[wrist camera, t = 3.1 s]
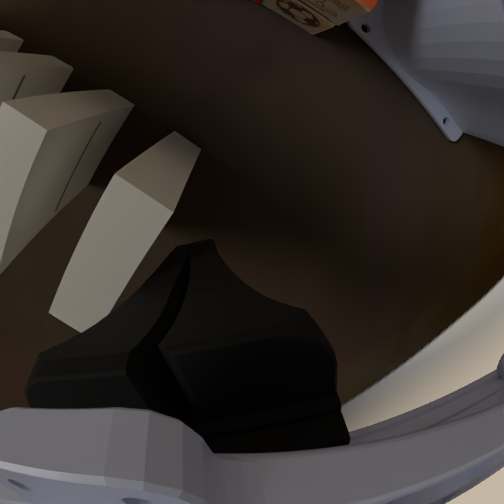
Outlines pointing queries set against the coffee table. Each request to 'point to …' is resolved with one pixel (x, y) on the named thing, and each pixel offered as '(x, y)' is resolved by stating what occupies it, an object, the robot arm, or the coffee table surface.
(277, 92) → the coffee table surface
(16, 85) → the domino
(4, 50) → the domino
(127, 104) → the domino
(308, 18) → the stack of blocks
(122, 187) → the domino
